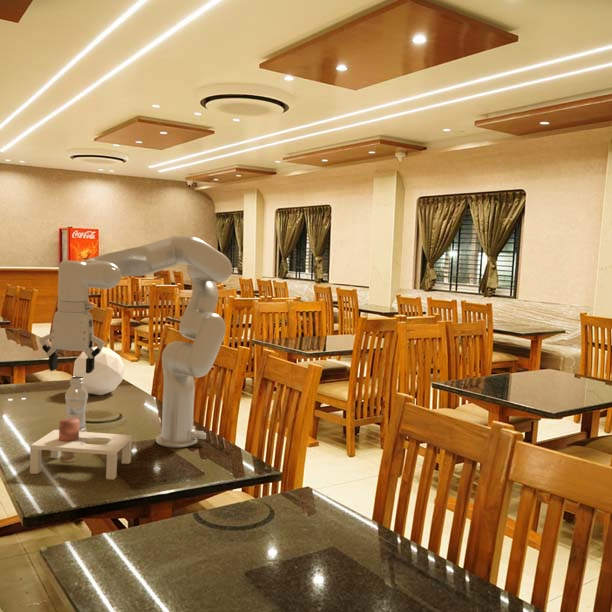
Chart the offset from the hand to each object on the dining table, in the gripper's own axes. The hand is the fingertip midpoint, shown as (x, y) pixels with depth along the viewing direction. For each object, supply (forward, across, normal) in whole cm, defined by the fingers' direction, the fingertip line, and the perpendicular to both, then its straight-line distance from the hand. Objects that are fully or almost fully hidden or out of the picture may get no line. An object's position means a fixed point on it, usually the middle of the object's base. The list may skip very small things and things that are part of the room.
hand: (71, 371), depth 162 cm
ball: (+26, +22, -80) cm, 87 cm away
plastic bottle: (+26, +6, -19) cm, 33 cm away
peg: (+24, 0, 0) cm, 25 cm away
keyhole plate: (+26, -4, 0) cm, 26 cm away
